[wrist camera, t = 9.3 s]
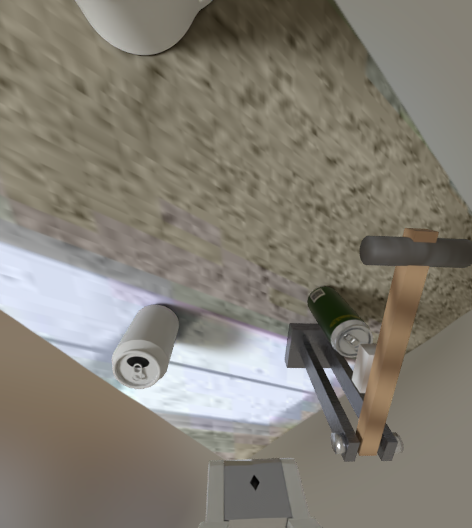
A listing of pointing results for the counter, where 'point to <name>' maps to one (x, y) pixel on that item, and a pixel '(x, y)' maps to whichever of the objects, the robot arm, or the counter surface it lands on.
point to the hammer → (397, 318)
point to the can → (146, 347)
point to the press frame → (325, 356)
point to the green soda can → (338, 321)
